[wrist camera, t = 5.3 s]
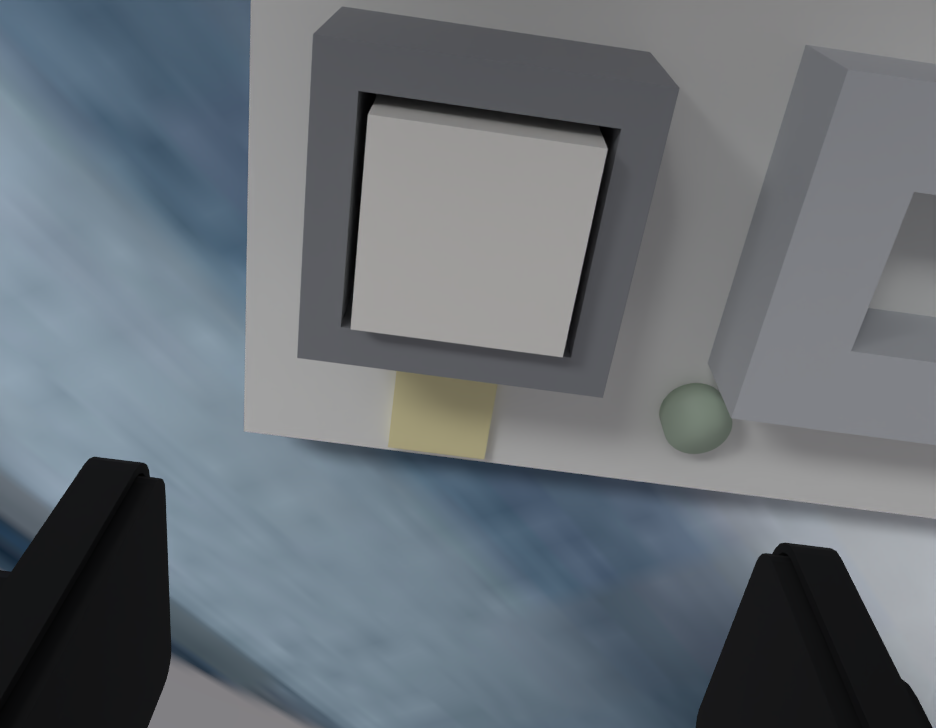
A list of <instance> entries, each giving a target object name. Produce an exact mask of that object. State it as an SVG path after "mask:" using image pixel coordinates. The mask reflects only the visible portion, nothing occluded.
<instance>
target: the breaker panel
mask: <svg viewBox="0 0 936 728" xmlns="http://www.w3.org/2000/svg"><path fill="white" fill-rule="evenodd" d="M378 94H383V95H390V96H397V97H404V98H411V99H418V100H424V101H431V102H438V103H445V104H452V105H459V106H466V107H473V108H480V109H487V110H494V111H501V112H508V113H514V114H521V115H528V116H535V117H542V118H549V119H556V120H563V121H570V122H577V123H584V124H591V125H598V126H599V128H600V131H601V133H602V136H603V138H604V141H605V143H606V146H607V148H608V150H607V155H606V159H605V164H604V169H603V173H602V178H601V182H600V187H599V192H598V196H597V201H596V206H595V210H594V215H593V219H592V224H591V229H590V233H589V238H588V243H587V247H586V252H585V257H584V261H583V266H582V270H581V275H580V280H579V284H578V289H577V294H576V298H575V303H574V307H573V312H572V317H571V321H570V326H569V331H568V335H567V340H566V345H565V349H564V354H563V357H556V356H548V355H541V354H533V353H525V352H518V351H510V350H503V349H495V348H488V347H480V346H473V345H465V344H457V343H450V342H442V341H435V340H427V339H420V338H412V337H405V336H397V335H389V334H382V333H374V332H367V331H359V330H352V329H351V317H352V305H353V292H354V280H355V268H356V255H357V243H358V230H359V218H360V206H361V193H362V181H363V169H364V156H365V144H366V132H367V119H368V113H369V111H370V109H371V107H372V105H373V103H374V101H375V99H376V97H377V95H378ZM244 431H245V432H253V433H261V434H269V435H277V436H285V437H293V438H300V439H308V440H316V441H324V442H332V443H340V444H348V445H356V446H364V447H371V448H379V449H387V450H395V451H403V452H411V453H419V454H427V455H435V456H443V457H450V458H458V459H466V460H474V461H482V462H490V463H498V464H506V465H514V466H521V467H529V468H537V469H545V470H553V471H561V472H569V473H577V474H585V475H593V476H600V477H608V478H616V479H624V480H632V481H640V482H648V483H656V484H664V485H672V486H679V487H687V488H695V489H703V490H711V491H719V492H727V493H735V494H743V495H750V496H758V497H766V498H774V499H782V500H790V501H798V502H806V503H814V504H822V505H829V506H837V507H845V508H853V509H861V510H869V511H877V512H885V513H893V514H900V515H908V516H916V517H924V518H932V519H936V0H251V29H250V91H249V153H248V215H247V277H246V339H245V401H244Z"/></svg>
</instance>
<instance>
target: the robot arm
mask: <svg viewBox="0 0 936 728" xmlns="http://www.w3.org/2000/svg"><path fill="white" fill-rule="evenodd" d="M170 659H171V629H170V602H169V576H168V549H167V522H166V495H165V484H164V481H163V479H161V478H153V477H150V475H149V469H148V467H147V465H146V464H144V463H140V462H132V461H124V460H116V459H108V458H100V457H92V458H90V459H89V460H88V461H87V462H86V463H85V464H84V466H83V467H82V469H81V470H80V471H79V473H78V474H77V476H76V477H75V479H74V480H73V482H72V483H71V485H70V486H69V488H68V489H67V491H66V492H65V494H64V495H63V497H62V498H61V499H60V501H59V502H58V504H57V505H56V507H55V508H54V510H53V511H52V513H51V514H50V516H49V517H48V519H47V520H46V522H45V523H44V525H43V526H42V527H41V529H40V530H39V532H38V533H37V535H36V536H35V538H34V539H33V541H32V542H31V544H30V545H29V547H28V548H27V550H26V551H25V552H24V554H23V555H22V557H21V558H20V560H19V561H18V563H17V564H16V566H15V567H14V569H13V570H12V572H9V571H1V570H0V728H147V727H148V725H149V722H150V720H151V717H152V715H153V712H154V710H155V707H156V705H157V702H158V700H159V697H160V695H161V692H162V690H163V687H164V685H165V682H166V679H167V675H168V671H169V666H170ZM696 728H932V726H931V724H930V722H929V720H928V718H927V716H926V714H925V712H924V710H923V708H922V706H921V704H920V702H919V700H918V698H917V696H916V695H915V693H914V692H913V690H912V689H911V687H910V686H909V684H907V683H906V682H905V681H903V680H902V679H901V677H900V675H899V673H898V671H897V669H896V667H895V665H894V663H893V661H892V659H891V657H890V655H889V653H888V651H887V649H886V647H885V645H884V643H883V641H882V639H881V637H880V635H879V633H878V631H877V629H876V627H875V625H874V623H873V621H872V619H871V617H870V615H869V613H868V611H867V609H866V607H865V605H864V603H863V601H862V599H861V597H860V595H859V593H858V591H857V589H856V587H855V585H854V583H853V581H852V579H851V577H850V575H849V573H848V571H847V569H846V567H845V565H844V563H843V561H842V559H841V557H840V556H839V554H838V553H837V552H836V551H835V550H833V549H831V548H823V547H815V546H807V545H799V544H791V543H781V544H779V545H778V546H777V547H776V548H775V550H774V552H773V554H767V553H765V554H762V555H761V556H760V557H759V558H758V560H757V562H756V564H755V567H754V569H753V572H752V574H751V577H750V580H749V582H748V585H747V587H746V590H745V592H744V595H743V598H742V600H741V603H740V605H739V608H738V611H737V613H736V616H735V618H734V621H733V623H732V626H731V629H730V631H729V634H728V636H727V639H726V641H725V644H724V647H723V649H722V652H721V654H720V657H719V660H718V662H717V665H716V667H715V670H714V672H713V675H712V678H711V680H710V683H709V685H708V688H707V691H706V693H705V696H704V698H703V701H702V703H701V706H700V709H699V712H698V715H697V722H696Z"/></svg>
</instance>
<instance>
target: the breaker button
mask: <svg viewBox="0 0 936 728" xmlns="http://www.w3.org/2000/svg"><path fill="white" fill-rule="evenodd" d="M607 150H608V148H607V146H606V143H605V141H604V138H603V136H602V133H601V131H600V128H599V126H598V125H591V124H584V123H577V122H570V121H563V120H556V119H549V118H542V117H535V116H528V115H521V114H514V113H508V112H501V111H494V110H487V109H480V108H473V107H466V106H459V105H452V104H445V103H438V102H431V101H424V100H418V99H411V98H404V97H397V96H390V95H383V94H378V95H377V97H376V99H375V101H374V103H373V105H372V107H371V109H370V111H369V113H368V119H367V132H366V144H365V156H364V169H363V181H362V193H361V206H360V218H359V230H358V243H357V255H356V268H355V280H354V292H353V305H352V317H351V329H352V330H359V331H367V332H374V333H382V334H389V335H397V336H405V337H412V338H420V339H427V340H435V341H442V342H450V343H457V344H465V345H473V346H480V347H488V348H495V349H503V350H510V351H518V352H525V353H533V354H541V355H548V356H556V357H563V354H564V349H565V345H566V340H567V335H568V331H569V326H570V321H571V317H572V312H573V307H574V303H575V298H576V294H577V289H578V284H579V280H580V275H581V270H582V266H583V261H584V257H585V252H586V247H587V243H588V238H589V233H590V229H591V224H592V219H593V215H594V210H595V206H596V201H597V196H598V192H599V187H600V182H601V178H602V173H603V169H604V164H605V159H606V155H607Z"/></svg>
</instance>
